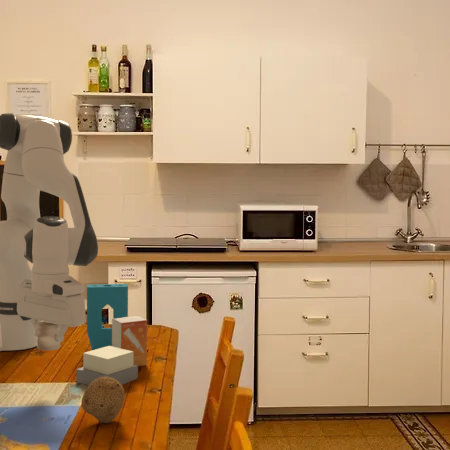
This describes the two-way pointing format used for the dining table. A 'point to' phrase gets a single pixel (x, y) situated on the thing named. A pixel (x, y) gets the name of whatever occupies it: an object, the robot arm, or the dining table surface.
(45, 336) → the beige rounded cylinder
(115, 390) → the natural sponge
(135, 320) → the small box
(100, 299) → the block
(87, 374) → the tower base
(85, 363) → the tower top
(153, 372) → the dining table surface
